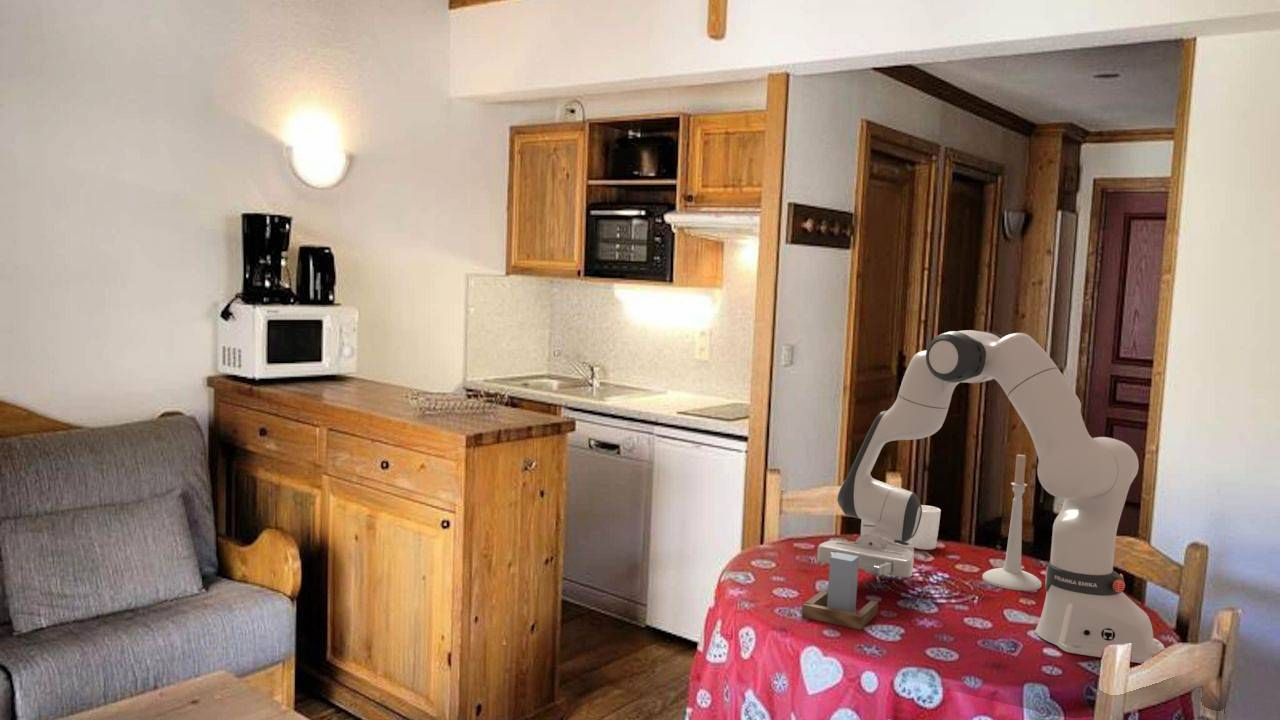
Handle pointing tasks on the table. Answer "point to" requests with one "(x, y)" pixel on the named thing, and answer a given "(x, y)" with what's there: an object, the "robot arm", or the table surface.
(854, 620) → the wooden u-shaped frame
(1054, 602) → the robot arm
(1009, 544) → the candlestick
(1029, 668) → the table surface
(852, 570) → the grey block
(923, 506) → the white cup
